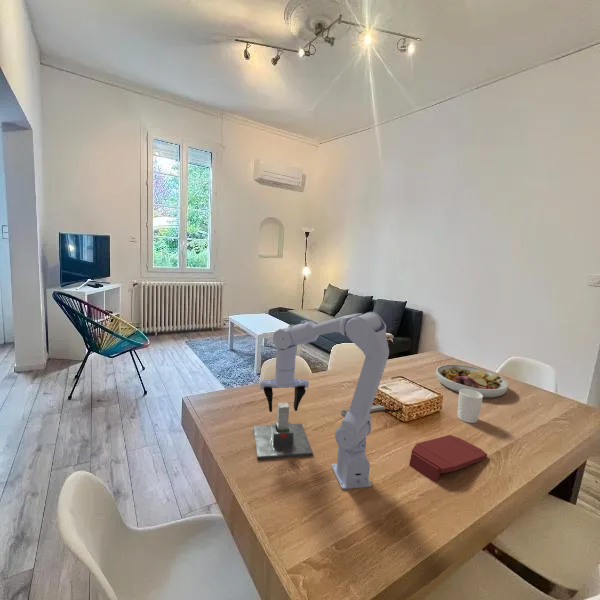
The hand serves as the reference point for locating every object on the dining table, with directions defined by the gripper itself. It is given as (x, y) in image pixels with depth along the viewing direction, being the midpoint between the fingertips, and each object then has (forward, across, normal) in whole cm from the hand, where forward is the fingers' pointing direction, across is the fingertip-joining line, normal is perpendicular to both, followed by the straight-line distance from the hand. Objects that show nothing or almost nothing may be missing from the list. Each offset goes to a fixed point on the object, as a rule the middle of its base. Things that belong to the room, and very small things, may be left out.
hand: (283, 409), depth 102 cm
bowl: (+11, -94, -35) cm, 101 cm away
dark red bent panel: (+11, -48, +14) cm, 51 cm away
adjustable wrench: (+11, -37, -17) cm, 42 cm away
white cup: (+11, -71, -7) cm, 72 cm away
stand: (+10, 0, 0) cm, 10 cm away
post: (+6, 0, 0) cm, 6 cm away
